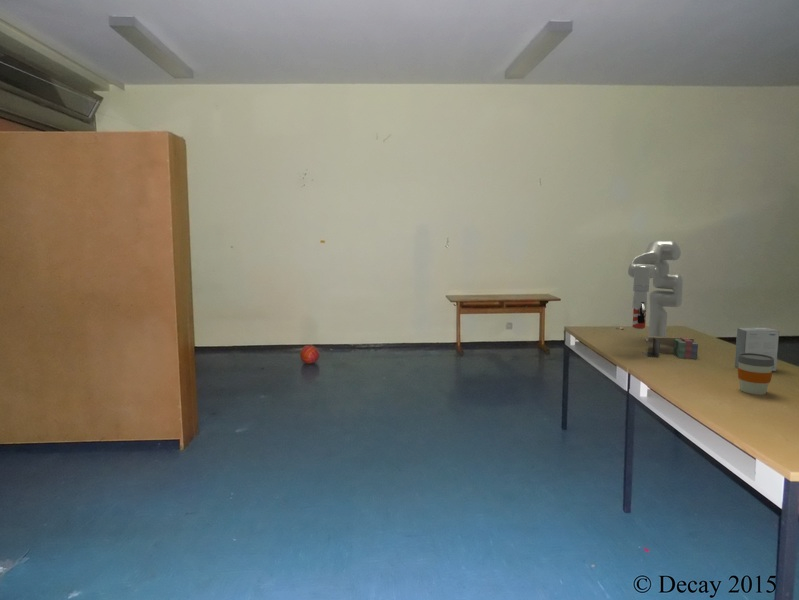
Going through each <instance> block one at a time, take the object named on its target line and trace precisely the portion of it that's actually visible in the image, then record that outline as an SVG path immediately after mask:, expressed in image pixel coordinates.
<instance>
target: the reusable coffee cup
mask: <svg viewBox="0 0 799 600" xmlns="http://www.w3.org/2000/svg"><path fill="white" fill-rule="evenodd" d="M738 363H739V367H738V368H737V378H738V380H739V390H740V391H741V392H743V393H745V394H751V395H757V396H758V395H759V396H761V395H766V394H767V391H768V386H769V384H770V383H771V380H772V376H773V372H774V371H772V368H773V366H774V358H773V357H771V356H767V355H762V354H754V353H741V354H739V356H738Z"/></svg>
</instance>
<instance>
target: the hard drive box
mask: <svg viewBox="0 0 799 600" xmlns="http://www.w3.org/2000/svg"><path fill="white" fill-rule="evenodd" d="M779 337H780V331H779V330H777V329H774V328H769V327H737V328H736V340H735V341H736V343H735V356H734V357H735V358H734V367H735V368H737V369H738V367H739V363H738V356H739V354H741V353H754V354H762V355H767V356H771V357H773V358H774V366H773V368H772V371H773V372H776V371H777V362H778V350H779V339H780V338H779Z"/></svg>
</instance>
